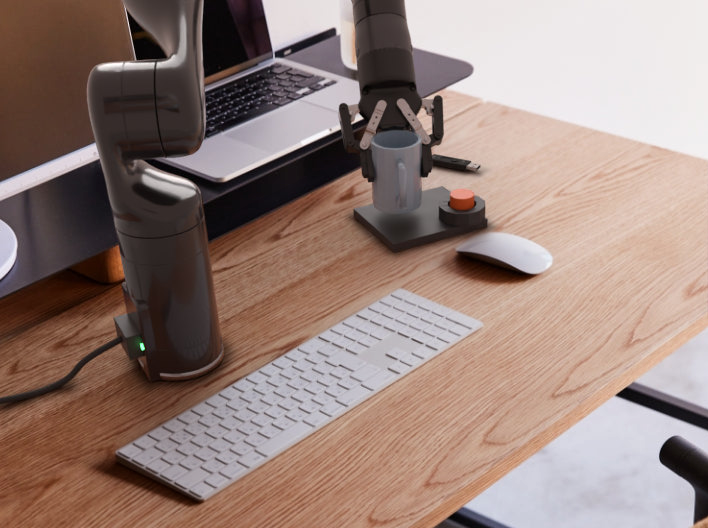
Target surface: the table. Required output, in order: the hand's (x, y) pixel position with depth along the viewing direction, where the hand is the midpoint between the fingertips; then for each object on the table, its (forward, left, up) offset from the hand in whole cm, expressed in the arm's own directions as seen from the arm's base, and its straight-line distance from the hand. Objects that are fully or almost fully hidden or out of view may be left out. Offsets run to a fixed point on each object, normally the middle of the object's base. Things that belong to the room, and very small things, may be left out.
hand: (398, 177), depth 139 cm
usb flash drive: (+16, +13, -7) cm, 22 cm away
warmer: (+3, 0, -7) cm, 8 cm away
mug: (0, 0, -4) cm, 4 cm away
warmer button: (+8, -4, -4) cm, 9 cm away
